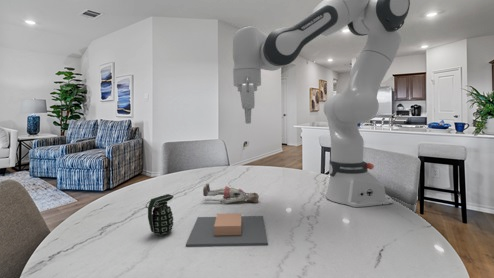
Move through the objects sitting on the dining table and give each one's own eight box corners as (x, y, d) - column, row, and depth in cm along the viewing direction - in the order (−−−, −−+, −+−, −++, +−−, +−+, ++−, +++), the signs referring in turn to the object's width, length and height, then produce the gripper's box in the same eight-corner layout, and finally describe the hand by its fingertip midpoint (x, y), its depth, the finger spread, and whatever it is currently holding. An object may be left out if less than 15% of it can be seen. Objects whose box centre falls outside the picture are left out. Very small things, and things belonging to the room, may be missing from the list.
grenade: (166, 226, 72) (165, 192, 71) (178, 232, 69) (177, 196, 68) (145, 235, 67) (143, 199, 66) (157, 241, 64) (154, 203, 63)
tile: (241, 213, 73) (241, 225, 65) (241, 222, 73) (241, 235, 65) (217, 213, 72) (213, 226, 65) (217, 222, 73) (214, 236, 65)
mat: (262, 217, 77) (262, 215, 77) (267, 245, 61) (267, 242, 61) (197, 218, 77) (197, 217, 77) (185, 246, 61) (185, 244, 61)
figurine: (206, 181, 95) (259, 187, 93) (205, 196, 95) (258, 202, 94) (202, 186, 89) (259, 193, 87) (201, 202, 89) (257, 209, 88)
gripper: (258, 75, 70) (259, 124, 72) (255, 83, 90) (256, 121, 92) (236, 75, 70) (237, 125, 71) (238, 84, 90) (239, 122, 92)
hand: (248, 123), depth 82 cm, fingers closed
